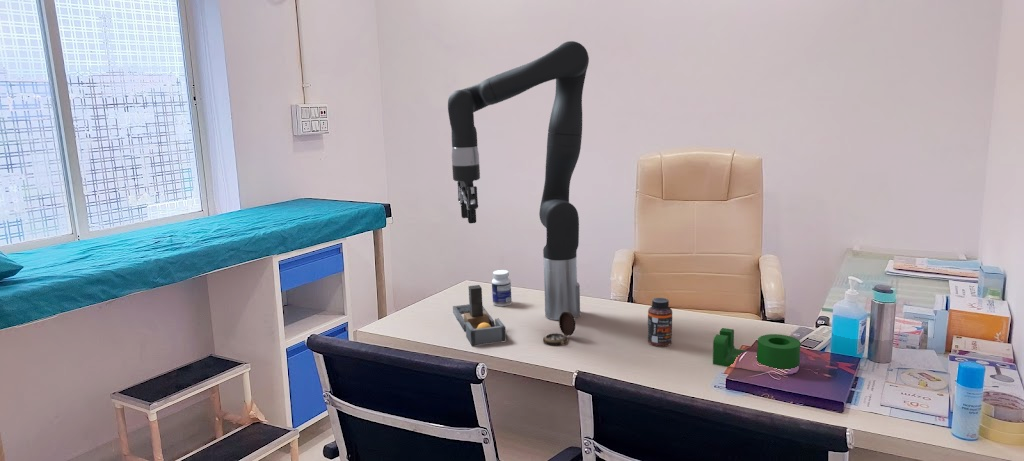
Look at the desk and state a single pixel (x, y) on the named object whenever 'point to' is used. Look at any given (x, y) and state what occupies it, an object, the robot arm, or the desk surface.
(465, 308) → the track
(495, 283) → the pill bottle
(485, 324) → the ball
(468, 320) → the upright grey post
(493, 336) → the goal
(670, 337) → the supplement bottle
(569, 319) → the compass
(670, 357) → the desk surface
